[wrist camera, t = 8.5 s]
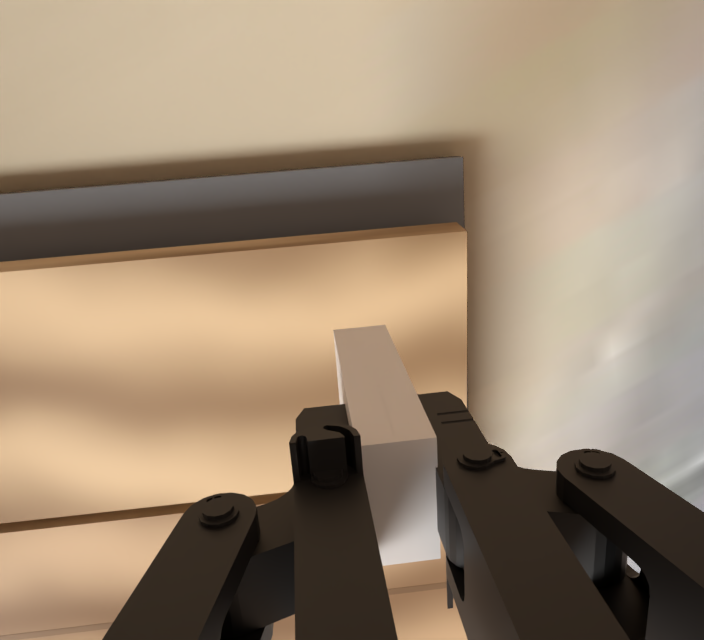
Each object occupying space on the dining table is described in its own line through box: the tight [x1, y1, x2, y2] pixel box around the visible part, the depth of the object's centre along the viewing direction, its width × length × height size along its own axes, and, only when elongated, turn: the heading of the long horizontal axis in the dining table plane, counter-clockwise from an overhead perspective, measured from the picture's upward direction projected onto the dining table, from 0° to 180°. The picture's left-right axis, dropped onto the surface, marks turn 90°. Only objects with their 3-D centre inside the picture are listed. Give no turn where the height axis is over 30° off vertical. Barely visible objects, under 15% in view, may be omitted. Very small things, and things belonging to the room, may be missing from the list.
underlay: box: [0, 156, 468, 409], centre depth 26 cm, size 25×21×1 cm
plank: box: [0, 222, 467, 524], centre depth 23 cm, size 10×20×2 cm, turn 94°
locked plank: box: [0, 492, 468, 640], centre depth 27 cm, size 10×20×2 cm, turn 94°
